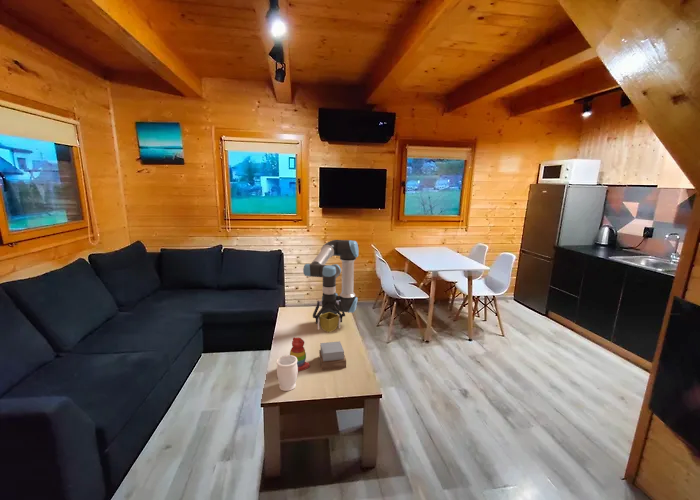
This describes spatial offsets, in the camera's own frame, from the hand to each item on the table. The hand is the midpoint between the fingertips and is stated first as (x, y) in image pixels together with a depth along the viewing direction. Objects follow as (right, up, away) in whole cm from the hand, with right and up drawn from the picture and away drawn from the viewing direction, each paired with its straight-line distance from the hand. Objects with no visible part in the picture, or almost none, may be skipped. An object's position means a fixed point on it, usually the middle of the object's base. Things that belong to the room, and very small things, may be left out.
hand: (328, 328), depth 183 cm
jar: (-20, -25, -20) cm, 38 cm away
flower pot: (0, -1, 0) cm, 2 cm away
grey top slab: (+2, -16, +2) cm, 17 cm away
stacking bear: (-17, -22, -3) cm, 28 cm away
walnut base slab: (+2, -21, +2) cm, 22 cm away
